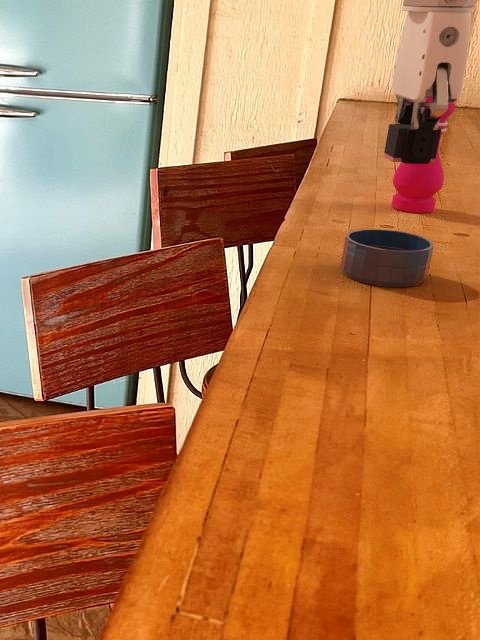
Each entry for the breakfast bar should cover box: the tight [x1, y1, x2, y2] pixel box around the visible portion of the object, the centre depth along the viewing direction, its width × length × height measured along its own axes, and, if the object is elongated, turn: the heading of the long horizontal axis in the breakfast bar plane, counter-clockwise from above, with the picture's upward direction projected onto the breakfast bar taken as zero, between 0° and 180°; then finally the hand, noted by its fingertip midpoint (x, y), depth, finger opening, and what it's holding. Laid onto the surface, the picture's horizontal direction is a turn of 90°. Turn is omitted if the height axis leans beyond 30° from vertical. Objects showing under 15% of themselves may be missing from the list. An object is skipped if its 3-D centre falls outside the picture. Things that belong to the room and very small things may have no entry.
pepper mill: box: [390, 98, 456, 214], centre depth 136 cm, size 7×7×20 cm
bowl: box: [340, 228, 435, 288], centre depth 107 cm, size 10×10×4 cm
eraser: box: [383, 123, 442, 163], centre depth 107 cm, size 5×3×4 cm
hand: (409, 158), depth 108 cm, fingers closed on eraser, 3 cm apart
